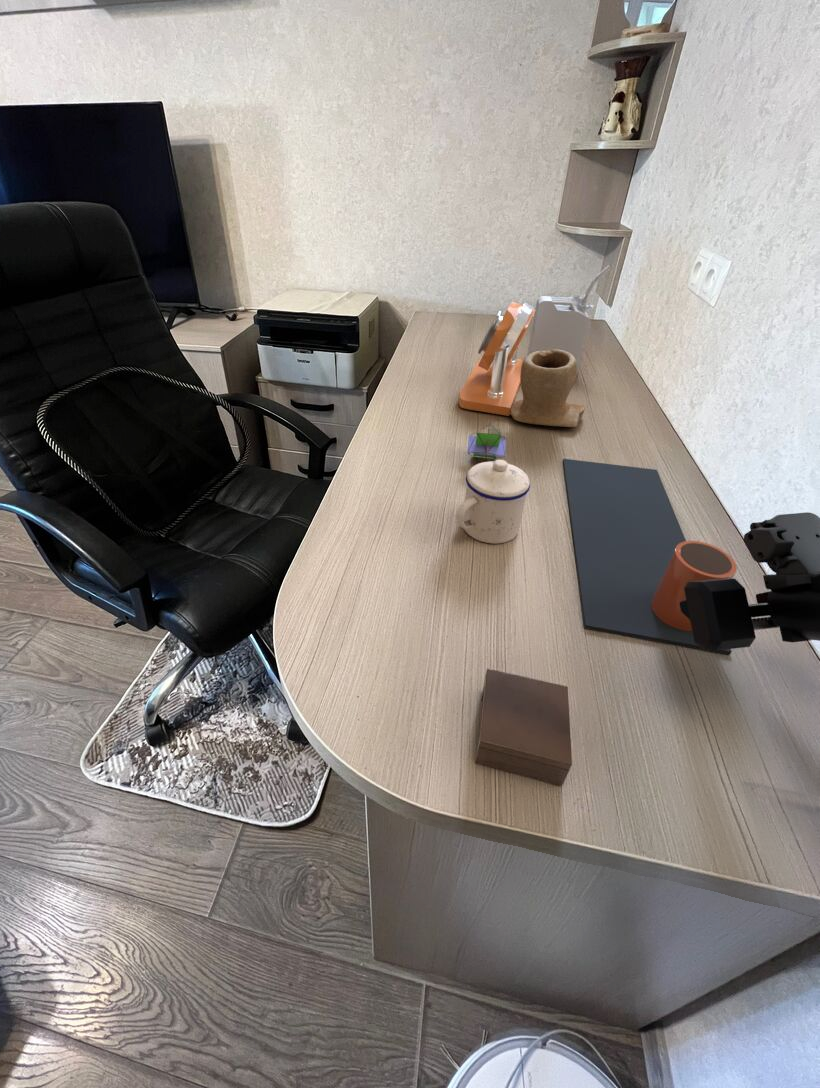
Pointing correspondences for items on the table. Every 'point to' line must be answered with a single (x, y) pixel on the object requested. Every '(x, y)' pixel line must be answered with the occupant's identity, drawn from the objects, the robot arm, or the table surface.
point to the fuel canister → (562, 323)
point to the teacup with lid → (493, 501)
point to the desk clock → (498, 363)
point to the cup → (688, 578)
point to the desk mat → (622, 548)
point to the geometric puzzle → (487, 443)
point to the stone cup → (547, 390)
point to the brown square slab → (525, 727)
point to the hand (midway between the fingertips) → (719, 602)
